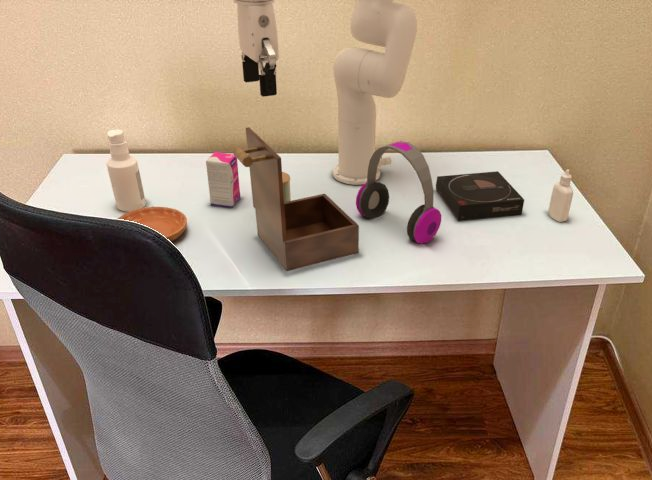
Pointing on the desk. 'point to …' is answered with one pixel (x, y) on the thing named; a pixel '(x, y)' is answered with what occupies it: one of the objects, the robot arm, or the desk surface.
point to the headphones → (376, 194)
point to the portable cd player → (479, 196)
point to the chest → (311, 233)
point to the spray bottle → (124, 174)
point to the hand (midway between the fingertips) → (260, 88)
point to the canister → (286, 187)
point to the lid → (265, 181)
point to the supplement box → (223, 179)
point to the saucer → (159, 220)
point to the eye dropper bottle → (561, 198)
